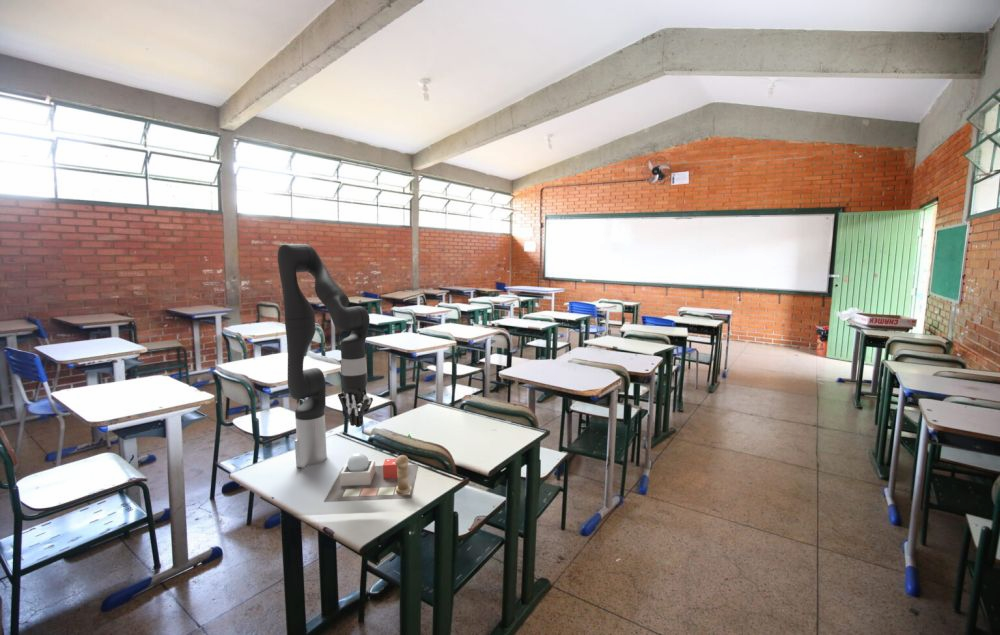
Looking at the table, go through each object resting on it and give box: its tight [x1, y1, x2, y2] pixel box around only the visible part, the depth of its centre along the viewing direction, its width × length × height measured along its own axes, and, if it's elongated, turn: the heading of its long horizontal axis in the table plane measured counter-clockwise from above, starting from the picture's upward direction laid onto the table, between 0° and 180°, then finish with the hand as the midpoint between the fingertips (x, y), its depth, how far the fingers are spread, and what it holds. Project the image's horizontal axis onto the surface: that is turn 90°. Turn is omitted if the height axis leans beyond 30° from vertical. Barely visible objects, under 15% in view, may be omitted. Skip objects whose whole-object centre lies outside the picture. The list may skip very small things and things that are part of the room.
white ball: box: [346, 452, 369, 472], centre depth 148 cm, size 6×6×6 cm
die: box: [382, 458, 398, 479], centre depth 150 cm, size 4×4×4 cm
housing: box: [339, 459, 376, 486], centre depth 148 cm, size 9×9×4 cm
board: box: [323, 464, 419, 503], centre depth 146 cm, size 25×22×2 cm
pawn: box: [395, 454, 410, 494], centre depth 140 cm, size 4×4×11 cm
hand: (356, 425), depth 146 cm, fingers closed
